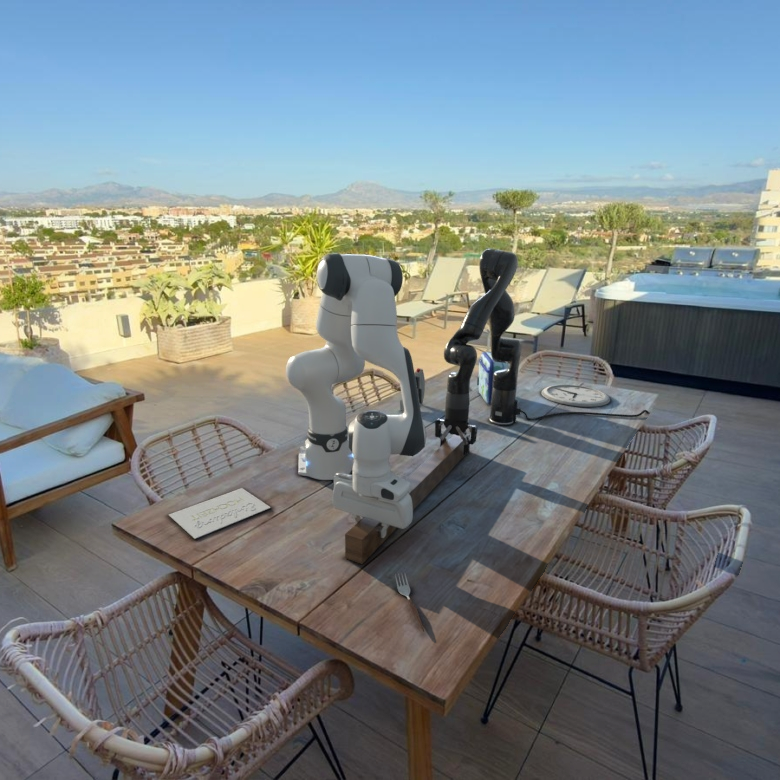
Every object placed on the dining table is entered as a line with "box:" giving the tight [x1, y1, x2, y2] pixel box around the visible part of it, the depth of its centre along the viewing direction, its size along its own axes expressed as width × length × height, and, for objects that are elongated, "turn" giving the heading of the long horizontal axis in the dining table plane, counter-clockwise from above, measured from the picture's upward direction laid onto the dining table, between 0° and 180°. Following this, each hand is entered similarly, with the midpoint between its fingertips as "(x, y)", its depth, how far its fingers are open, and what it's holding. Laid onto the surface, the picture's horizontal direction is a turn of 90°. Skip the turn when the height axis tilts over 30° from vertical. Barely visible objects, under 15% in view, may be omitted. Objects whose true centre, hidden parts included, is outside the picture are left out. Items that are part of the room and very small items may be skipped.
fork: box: [394, 572, 425, 632], centre depth 105 cm, size 3×16×2 cm, turn 15°
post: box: [344, 433, 471, 565], centre depth 148 cm, size 72×5×6 cm, turn 152°
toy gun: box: [399, 367, 426, 413], centre depth 218 cm, size 2×16×15 cm
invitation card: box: [168, 487, 271, 540], centre depth 138 cm, size 21×1×15 cm
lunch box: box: [476, 351, 510, 406], centre depth 230 cm, size 26×11×21 cm, turn 179°
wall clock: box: [541, 384, 611, 408], centre depth 239 cm, size 30×2×30 cm
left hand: (371, 532), depth 125 cm, fingers closed on post, 4 cm apart
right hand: (454, 452), depth 172 cm, fingers open, 7 cm apart
